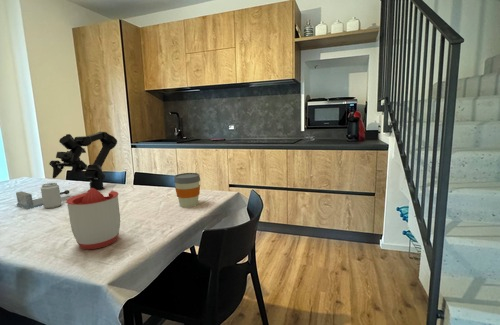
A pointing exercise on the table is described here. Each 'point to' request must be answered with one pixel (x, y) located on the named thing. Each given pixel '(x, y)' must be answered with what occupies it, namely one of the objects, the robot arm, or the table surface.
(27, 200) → the vise
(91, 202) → the citrus juicer
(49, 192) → the can
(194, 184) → the reusable coffee cup
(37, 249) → the table surface
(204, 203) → the table surface
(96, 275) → the table surface
